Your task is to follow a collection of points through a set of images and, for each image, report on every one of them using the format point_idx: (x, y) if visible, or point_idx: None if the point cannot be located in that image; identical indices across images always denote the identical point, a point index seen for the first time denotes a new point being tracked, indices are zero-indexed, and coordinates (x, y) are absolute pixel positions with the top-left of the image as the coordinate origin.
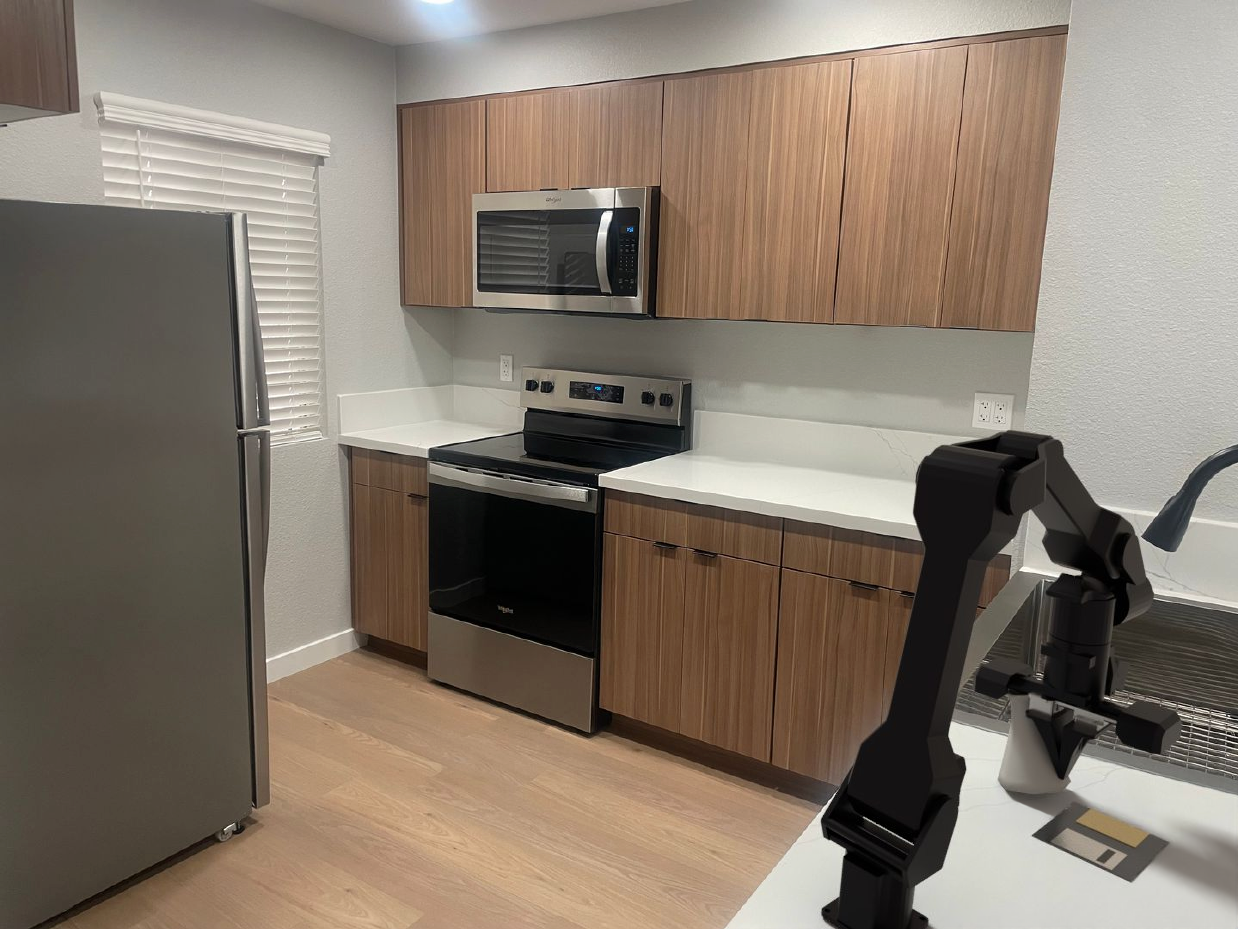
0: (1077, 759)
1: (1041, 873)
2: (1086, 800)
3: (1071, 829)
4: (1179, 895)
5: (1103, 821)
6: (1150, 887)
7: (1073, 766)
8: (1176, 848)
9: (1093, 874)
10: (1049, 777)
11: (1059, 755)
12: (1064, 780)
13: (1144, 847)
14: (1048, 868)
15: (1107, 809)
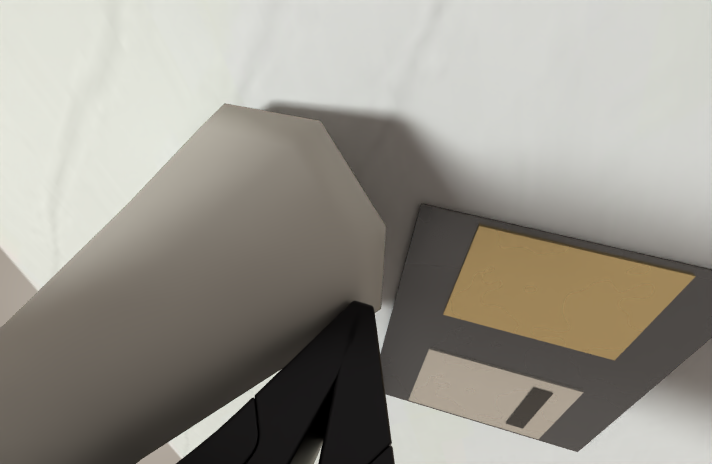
0: (383, 387)
1: (417, 457)
2: (457, 157)
3: (439, 346)
4: (692, 459)
5: (523, 279)
6: (622, 452)
7: (378, 352)
8: None
9: (501, 445)
10: None
11: (314, 458)
12: (367, 284)
13: (647, 345)
14: (424, 447)
15: (541, 176)
